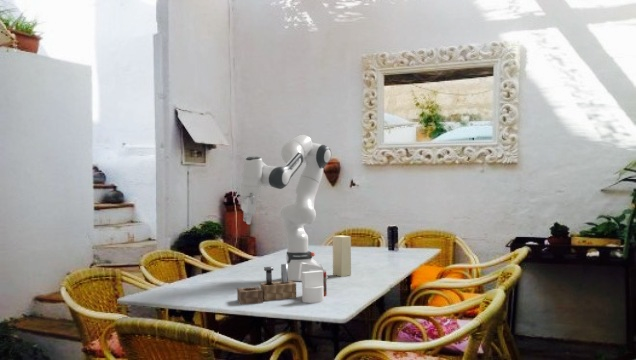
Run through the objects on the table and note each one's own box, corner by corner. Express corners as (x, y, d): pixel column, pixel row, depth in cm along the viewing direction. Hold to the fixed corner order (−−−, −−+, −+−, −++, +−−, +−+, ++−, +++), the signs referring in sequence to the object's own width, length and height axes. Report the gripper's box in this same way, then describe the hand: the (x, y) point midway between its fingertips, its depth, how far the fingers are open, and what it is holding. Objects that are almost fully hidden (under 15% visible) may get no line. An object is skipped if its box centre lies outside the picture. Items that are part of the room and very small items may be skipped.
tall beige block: (352, 275, 280) (351, 236, 281) (341, 276, 276) (340, 237, 276) (343, 273, 287) (342, 235, 287) (332, 275, 283) (332, 236, 283)
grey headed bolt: (272, 285, 228) (272, 266, 229) (274, 286, 225) (274, 267, 225) (263, 286, 227) (263, 267, 227) (265, 287, 223) (265, 268, 224)
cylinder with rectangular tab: (307, 303, 214) (306, 274, 214) (299, 299, 222) (298, 271, 222) (327, 301, 217) (326, 272, 217) (318, 297, 225) (318, 269, 226)
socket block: (291, 294, 233) (291, 280, 233) (296, 297, 226) (296, 283, 226) (260, 296, 229) (260, 283, 229) (264, 300, 221) (264, 286, 221)
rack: (258, 298, 226) (258, 286, 226) (262, 302, 217) (262, 290, 217) (237, 300, 223) (237, 288, 223) (241, 304, 214) (240, 292, 215)
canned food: (320, 297, 224) (320, 272, 224) (305, 296, 228) (304, 270, 229) (330, 294, 231) (329, 269, 231) (314, 293, 235) (314, 268, 235)
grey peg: (287, 295, 230) (286, 263, 230) (289, 297, 227) (288, 264, 227) (280, 296, 229) (280, 264, 229) (282, 297, 226) (281, 265, 226)
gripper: (260, 194, 227) (257, 226, 228) (253, 191, 247) (250, 220, 247) (246, 193, 226) (242, 225, 226) (240, 190, 245) (237, 219, 246)
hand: (246, 222), depth 237 cm, fingers open, 8 cm apart
